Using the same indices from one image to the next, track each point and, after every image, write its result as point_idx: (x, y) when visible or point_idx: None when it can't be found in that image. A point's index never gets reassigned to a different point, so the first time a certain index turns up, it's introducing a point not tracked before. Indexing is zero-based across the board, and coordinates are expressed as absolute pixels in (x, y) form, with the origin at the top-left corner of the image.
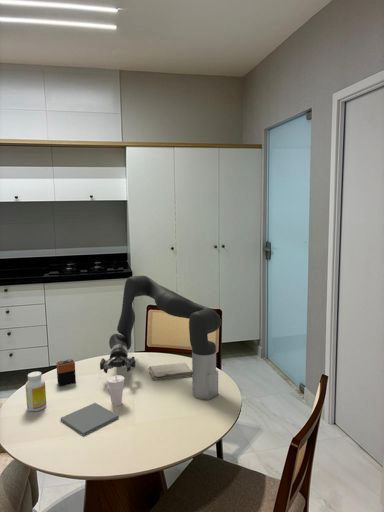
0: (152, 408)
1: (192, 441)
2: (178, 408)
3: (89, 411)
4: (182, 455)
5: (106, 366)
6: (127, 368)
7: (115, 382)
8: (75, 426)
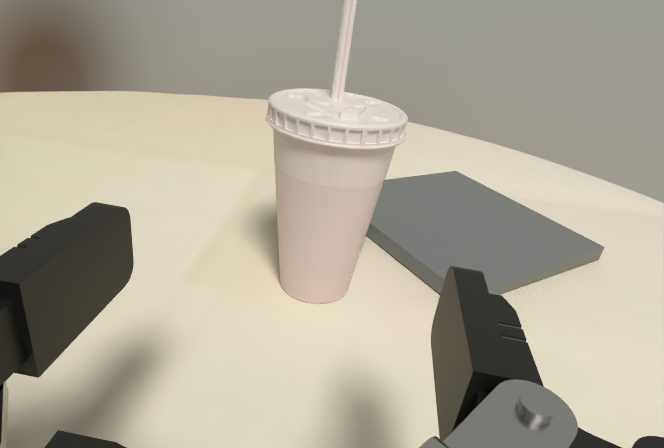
0: (136, 199)
1: (137, 101)
2: (21, 167)
3: (471, 241)
4: (193, 95)
5: (476, 311)
6: (123, 218)
7: (344, 92)
8: (499, 195)
